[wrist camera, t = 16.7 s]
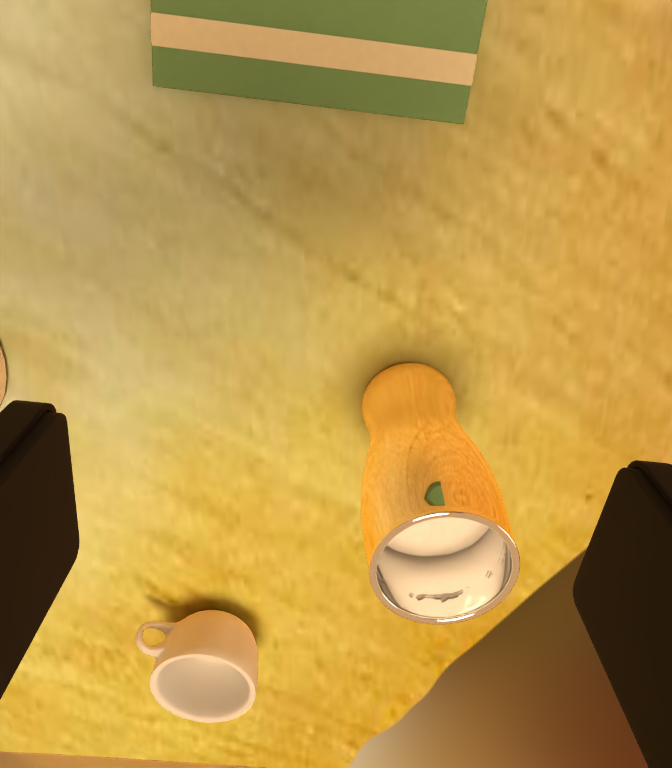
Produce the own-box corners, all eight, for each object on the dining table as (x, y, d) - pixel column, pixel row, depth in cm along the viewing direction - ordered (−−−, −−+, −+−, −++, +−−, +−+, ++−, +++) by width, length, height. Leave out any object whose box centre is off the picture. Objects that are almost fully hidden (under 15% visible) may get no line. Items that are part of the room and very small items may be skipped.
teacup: (282, 623, 49) (276, 682, 44) (232, 674, 52) (221, 736, 47) (173, 568, 46) (154, 625, 41) (127, 625, 49) (104, 685, 44)
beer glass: (370, 345, 38) (388, 493, 24) (476, 368, 38) (550, 525, 25) (344, 437, 41) (347, 614, 27) (442, 457, 41) (492, 639, 28)
